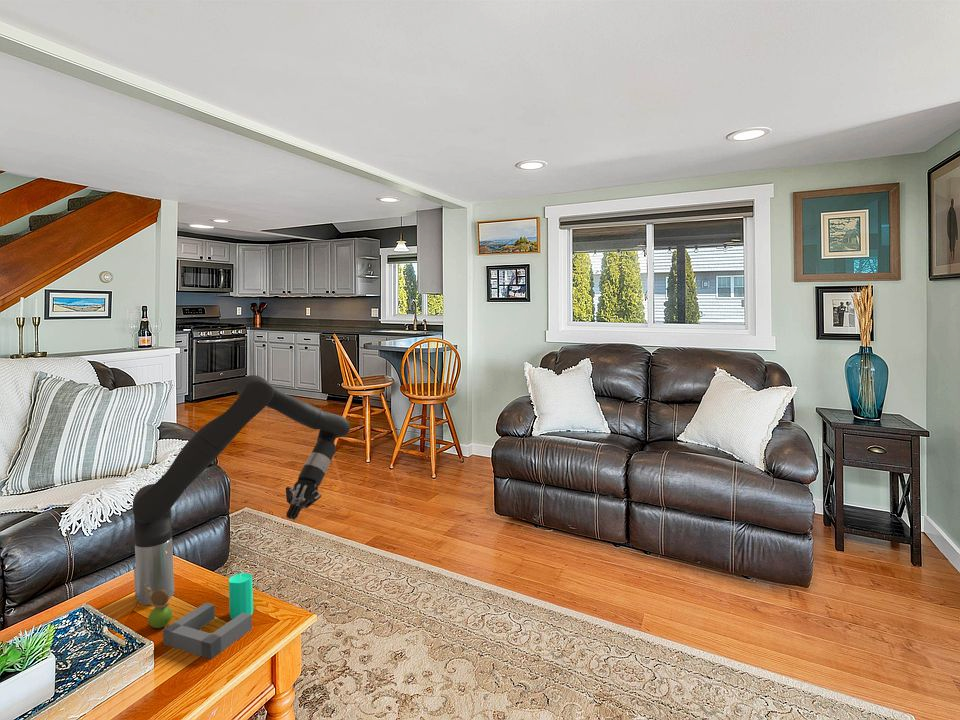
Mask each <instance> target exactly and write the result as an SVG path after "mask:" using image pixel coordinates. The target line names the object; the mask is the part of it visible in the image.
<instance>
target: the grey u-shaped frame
mask: <svg viewBox="0 0 960 720" xmlns="http://www.w3.org/2000/svg"><path fill="white" fill-rule="evenodd" d="M215 611H216V610H215V604H212V603H211V602H210V603H209V602H205V603H203V604H201V605H200V606H198V607H196V608H195V609H193V610H191V611H190V612H188V613H186V614H185V615H184V616H182V617H180V618H179V619H177V620H176V621H173V622H172V623H171V624H169V625H166V626H165V627H164V628H163V629H162V643H163V645H164V646H167V647H171V648H174V649H177V650H181V651H183V652H187V653H190V654H194V655H196V656H199V657H202V658H205V659H208V660H213V659H214V658H215V657H217V655H219V654H220V653H222V652H223V651H225V650H226V649H227V648H228V647H230V646H232V645H233V644H234V643H235V642H236V641H238V640H239V639H240V638H242V637H243V636H245V635H246V634H247V633H249V632H250V631H251V630H252V629H253V626H252V625H253V624H252V615H250V614H247V613H243V612H242V613H241V614H240V615H238V616H237V617H235V618H234V619H231V620H229V621H228V622H226V623H225V624H224V625H222V626H221V627H219V628H218V629H217V630H215V631H214V632H211V633H210V632H206V631H202V630H200V629H201V628H203V627H204V626H206V625H208V624H209V623H211V622H212V621H213V620H215V619H216V617H215V616H216V615H215V613H216V612H215Z"/></svg>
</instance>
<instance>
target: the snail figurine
mask: <svg viewBox="0 0 960 720" xmlns="http://www.w3.org/2000/svg"><path fill="white" fill-rule="evenodd" d="M147 584H148V582H147V583H146V584H144V586H146V585H147ZM145 592H146V596H147V599H148V601H149V603H150V605H149V606H152V607H154V608H153V609H152V610H151V611H150V612H149V615H148V619H147V620H148V624H149V626H151V627H152V628H154V629H161V628H163V627H164V628H165V627H166V626H168V624H169V623H170V622H171V620H172V617H173V611H172V609H171V608H170V607H169V605H170V603H169V602H168V601H169V599H170V598H169V595H168V593H167V592H166V591H165V590H163V589H157V590H155V591H154V592H153V594H151V588H150V587H147V588H146V587H145Z"/></svg>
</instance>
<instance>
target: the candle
mask: <svg viewBox="0 0 960 720" xmlns="http://www.w3.org/2000/svg"><path fill="white" fill-rule="evenodd" d="M253 593H254V591H253V575H252V574H251V573H245V572H240V573H239V572H238V573H236V574H234V575H232V576H230V578H229V580H228V596H229V597H228V599H229V602H228V603H229V618H230V619H231V620H232V619H234V618H235V617H237V616H238V615H240V614H241V613H242V612H243V613H247V614H250V615H251V616H252V615H253V613H254V594H253Z"/></svg>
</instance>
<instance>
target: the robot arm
mask: <svg viewBox="0 0 960 720" xmlns="http://www.w3.org/2000/svg"><path fill="white" fill-rule="evenodd" d="M236 391H237V396H238V397H237V398H236V400H235V401H234V402H233V404H231V406H230V407H229V408H227V409H226V411H224V412H223V413H222V414H220V415H218V416H217V417H216V418H213V419H212V420H211V421H208V423H206V424H204V425H203V426H202V427H201V428H200V429H198V431H196V432H195V433H194V434H193V435H192V437H191V438H190V439H189V440H188V441H187V442H186V443H185V445H184V446H183V447H182V449H181V450H180V451H179V452H178V454H177V456H176V457H175V459H174V460H173V462H172V463H171V465H170V466H169V468H168V470H167V471H166V472H165V473H164V474H163V475H162V476H161V477H160V478H159V479H158V480H157V481H156V482H155V483H152V484H147V485H145V486H142V487H141V488H139V490H137V492H136V493H135V495H134V497H133V501H132V510H131V511H132V515H133V520H134V521H133V524H134V525H133V527H134V529H133V530H134V531H133V533H134V534H133V538H134V554H135V555H134V556H135V566H134V569H133V573H134V574H133V576H134V578H133V579H134V593H135V599H136V598H138V599H137V602H138V604H139V605H143V606H151V605H150V603H149V601H148V599H147V596H146V592H145V587H146V588H147V587H150V588H151V594H153V592H154V591H155V590H157V589H163V590H165V591H166V592H167V593H168V595H169V599H170V598H172V597H173V596H174V594H175V578H174V577H175V576H174V573H175V572H174V554H173V551H174V550H173V530H172V528H173V527H172V526H173V524H172V507H173V506H174V505H175V503H176V502H177V501H178V500H179V498H180V496H182V494H183V493H184V492H185V490H186V489H187V488H189V486H190V485H191V484H192V483H193V482H194V481H195V480H196V479H197V478H198V477H199V476H200V475H202V473H203V472H204V471H205V470H206V469H207V468H208V467H209V466H210V465H211V464H212V463H213V462H214V461H215V460H216V459H217V458H218V457H219V455H221V454H222V452H223V451H224V450H225V449H226V448H227V447H228V445H229V444H230V443H231V442H232V441H233V440H234V439H235V438H236V436H237V435H238V434H239V433H240V432H241V431H242V429H244V428H245V426H246V425H247V424H248V423H249V422H251V420H252V419H254V417H256V416H257V415H258V414H259V413H260V412H261V411H262V410H263V409H264V408H266V407H267V408H269V409H272V410H273V411H277V412H279V414H282V415H284V416H285V417H287V418H289V419H291V420H292V421H295V422H296V423H299V424H300V425H303V426H305V427H307V428H310V429H312V430H319V432H318V436H317V440H316V444H315V445H314V447H313V449H312V452H311V453H310V455H309V456H308V457H307V459H306V461H305V462H304V465H303V467H302V469H301V471H299V472H300V473H299V474H298V477H297V481H296V482H295V483H294V485H293V486H287V487H286V488H285V496H286V503H287V504H289V507H288V509H287V512H286V518H287V519H289V520H293V521H295V520H296V519H297V518H298V516H299V514H300V512H301V511H302V510H303V509H308V508H310V507H311V506H312V505H314V503H315V502H317V501H318V500H320V498H322V494H321V493H320V492H319V491H318V490H319V487H320V486H321V484H322V482H323V479H324V478H325V475H326V474H327V472H328V470H329V467H330V464H331V461H332V459H333V457H334V455H335V453H336V452H337V445H336V444H335V440H336V439H338V438H343V437H345V436H347V435H348V434H349V432H350V429H351V424H350V422H349V420H347V418H345V417H344V416H341V415H339V414H336V413H333V412H328V411H325V410H322V409H321V408H318V407H316V406H314V405H312V404H310V403H307V402H305V401H303V400H301V399H297V398H296V397H293V396H291V395H289V394H287V393H285V392H283V391H281V390H279V389H278V388H275V387H274V386H273V384H271V383H270V382H269V381H268V380H266V379H265V378H264V377H262V376H260V375H255V374H250V375H247V376H244V377H242V378H241V379H240V380H239V381H238V383H237V387H236ZM147 582H148V584H147V585H146V586H144V584H146V583H147Z"/></svg>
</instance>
